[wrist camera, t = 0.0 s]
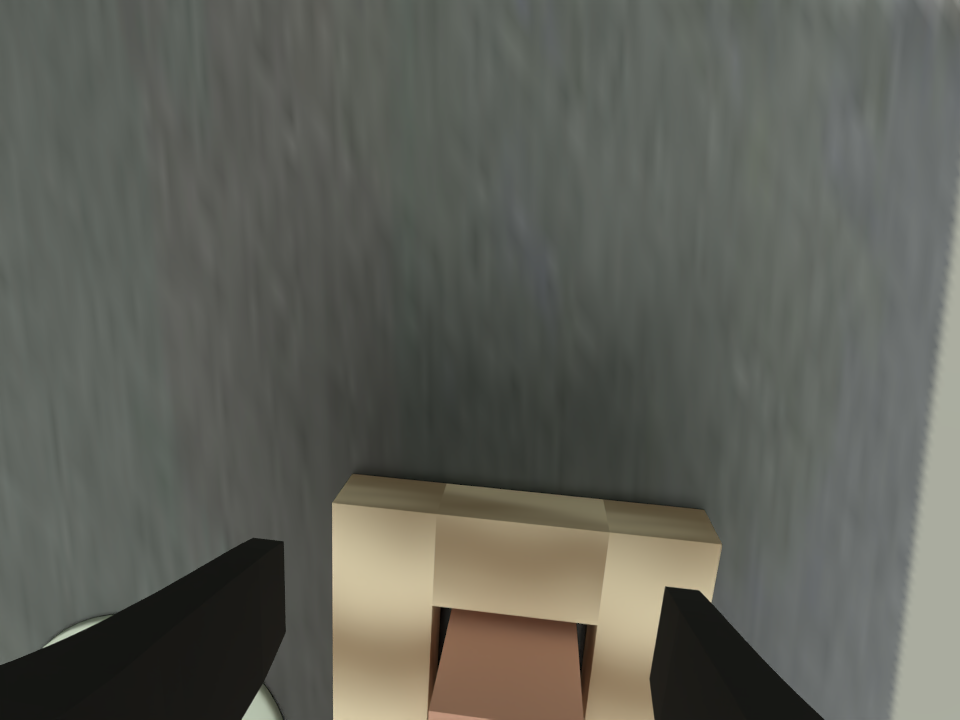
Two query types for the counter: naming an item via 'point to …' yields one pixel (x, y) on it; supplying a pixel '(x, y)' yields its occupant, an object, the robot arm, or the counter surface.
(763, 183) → the counter surface
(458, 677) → the terracotta block
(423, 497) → the maple pocket holder
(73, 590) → the counter surface
